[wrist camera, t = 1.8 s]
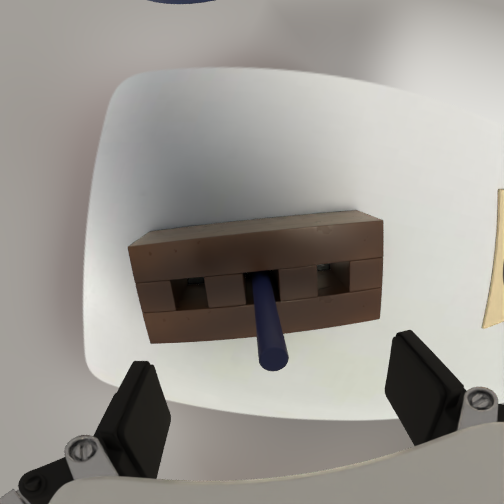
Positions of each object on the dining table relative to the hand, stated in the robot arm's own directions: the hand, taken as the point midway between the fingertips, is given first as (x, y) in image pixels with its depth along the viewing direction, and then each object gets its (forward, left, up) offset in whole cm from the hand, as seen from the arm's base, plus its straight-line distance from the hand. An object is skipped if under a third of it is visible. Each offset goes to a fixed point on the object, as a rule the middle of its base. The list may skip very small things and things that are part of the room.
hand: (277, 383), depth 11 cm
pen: (0, 0, -14) cm, 14 cm away
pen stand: (0, 0, -14) cm, 14 cm away
